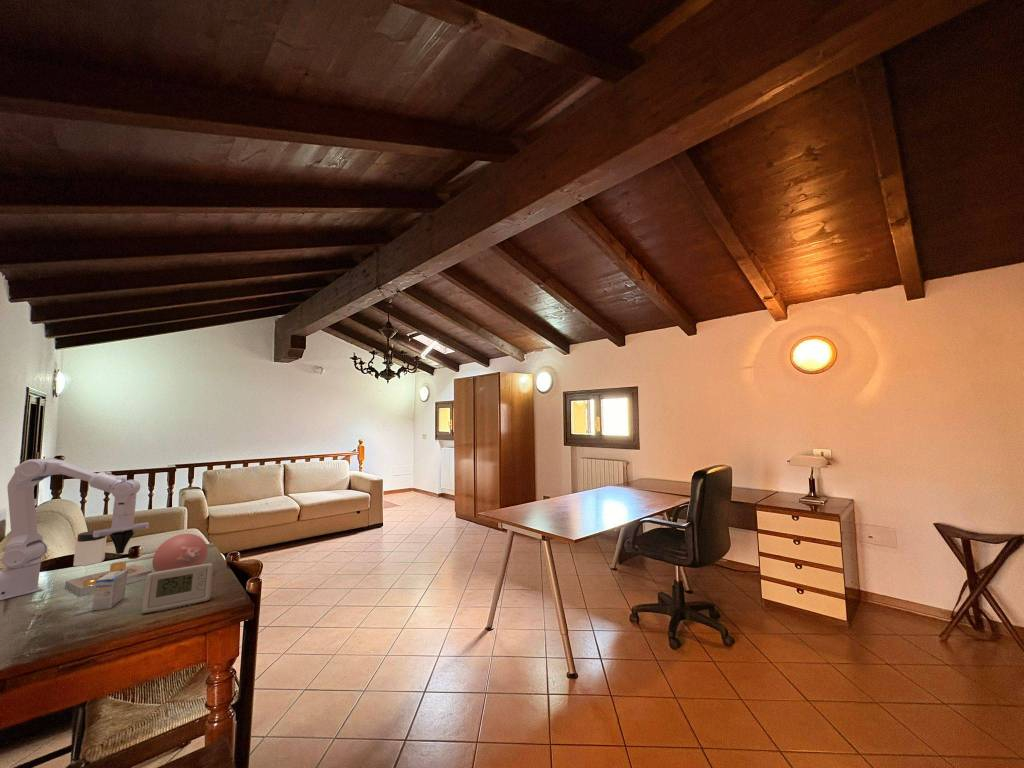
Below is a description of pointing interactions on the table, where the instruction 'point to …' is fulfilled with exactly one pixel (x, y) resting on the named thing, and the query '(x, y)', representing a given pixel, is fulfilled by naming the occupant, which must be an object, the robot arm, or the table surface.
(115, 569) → the bushing
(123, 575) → the medicine box
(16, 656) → the table surface
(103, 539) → the jar
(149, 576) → the digital clock
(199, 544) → the pink oval ball
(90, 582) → the jig
